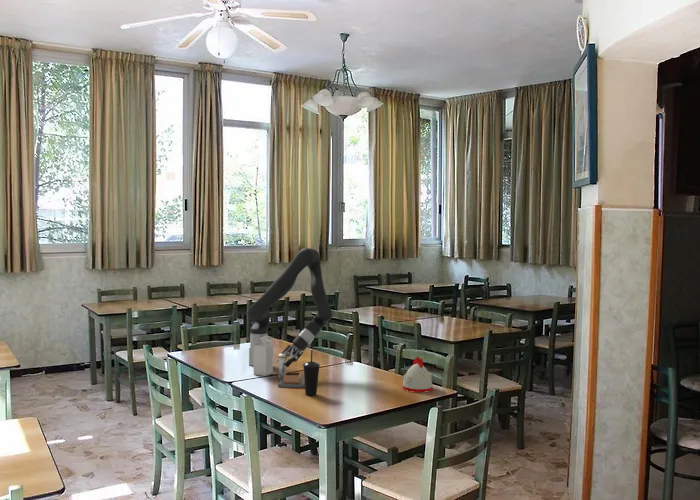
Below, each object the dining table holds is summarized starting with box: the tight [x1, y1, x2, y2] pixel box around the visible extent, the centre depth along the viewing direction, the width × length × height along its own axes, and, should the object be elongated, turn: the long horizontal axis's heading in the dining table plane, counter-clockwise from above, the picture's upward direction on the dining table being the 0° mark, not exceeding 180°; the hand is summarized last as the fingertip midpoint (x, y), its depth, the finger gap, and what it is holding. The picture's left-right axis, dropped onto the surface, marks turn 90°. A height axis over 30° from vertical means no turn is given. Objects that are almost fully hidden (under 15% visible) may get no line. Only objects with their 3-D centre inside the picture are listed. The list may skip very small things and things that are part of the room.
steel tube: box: [277, 352, 288, 380], centre depth 309 cm, size 4×4×12 cm
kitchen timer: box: [402, 356, 433, 393], centre depth 294 cm, size 14×14×15 cm
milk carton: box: [253, 335, 274, 377], centre depth 317 cm, size 7×7×19 cm
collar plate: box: [277, 371, 305, 389], centre depth 298 cm, size 12×12×5 cm
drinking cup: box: [302, 349, 321, 397], centre depth 280 cm, size 8×8×20 cm
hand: (282, 364), depth 309 cm, fingers open, 8 cm apart
